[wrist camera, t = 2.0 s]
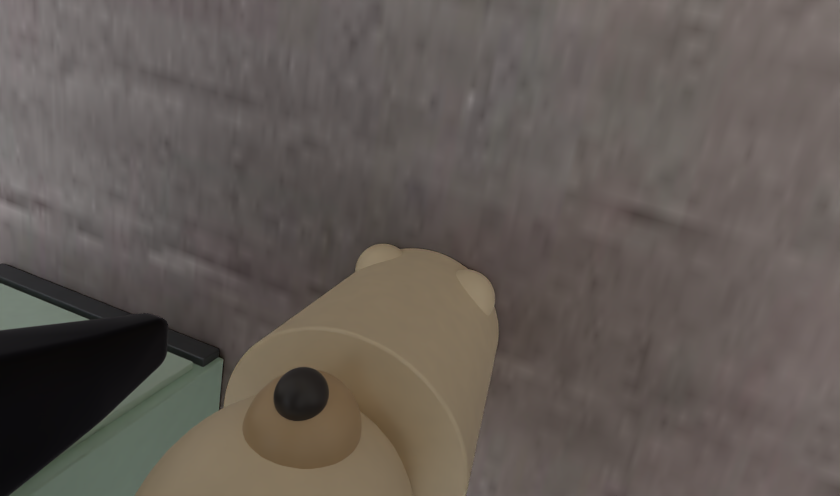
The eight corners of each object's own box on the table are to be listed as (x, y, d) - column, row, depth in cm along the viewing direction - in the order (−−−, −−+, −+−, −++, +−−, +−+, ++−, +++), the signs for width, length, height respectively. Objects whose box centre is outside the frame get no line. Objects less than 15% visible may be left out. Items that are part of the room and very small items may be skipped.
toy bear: (524, 263, 10) (466, 710, 2) (474, 418, 12) (329, 1025, 4) (362, 215, 11) (-99, 414, 3) (334, 364, 13) (-31, 762, 5)
